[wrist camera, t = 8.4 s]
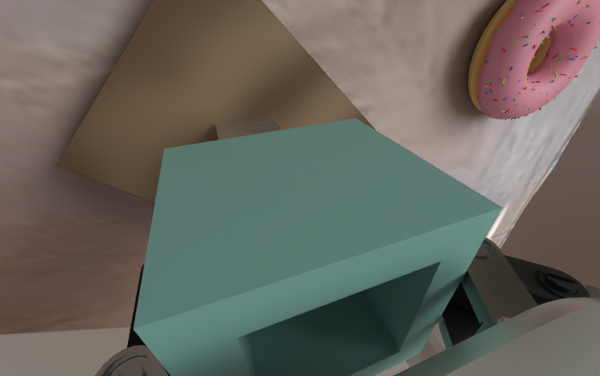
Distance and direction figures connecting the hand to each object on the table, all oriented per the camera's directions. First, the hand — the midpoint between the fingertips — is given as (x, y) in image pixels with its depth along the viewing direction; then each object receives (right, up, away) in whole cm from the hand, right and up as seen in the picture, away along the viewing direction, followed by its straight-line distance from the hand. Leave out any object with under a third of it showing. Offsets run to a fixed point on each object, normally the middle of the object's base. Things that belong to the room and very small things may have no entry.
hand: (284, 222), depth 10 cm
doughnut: (+19, +14, +12) cm, 27 cm away
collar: (0, +1, +1) cm, 1 cm away
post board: (-3, +5, +7) cm, 10 cm away
